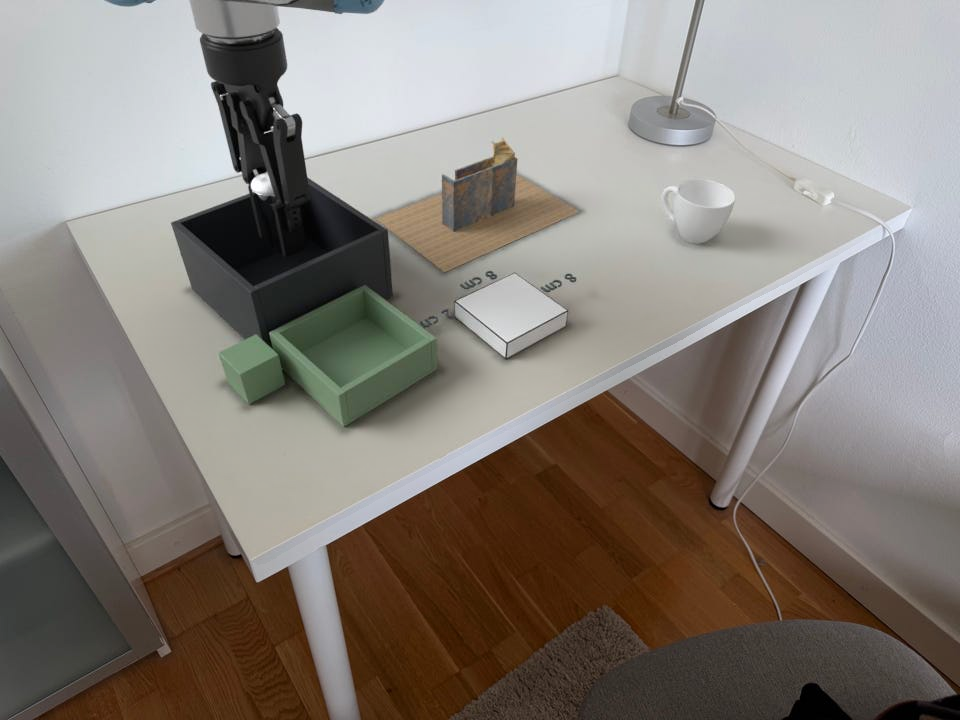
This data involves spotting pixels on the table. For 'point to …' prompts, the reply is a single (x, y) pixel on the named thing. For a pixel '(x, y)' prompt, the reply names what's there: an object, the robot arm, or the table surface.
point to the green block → (252, 368)
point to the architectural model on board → (476, 212)
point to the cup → (698, 208)
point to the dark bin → (281, 261)
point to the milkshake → (266, 207)
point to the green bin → (354, 353)
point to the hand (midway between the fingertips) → (282, 242)
